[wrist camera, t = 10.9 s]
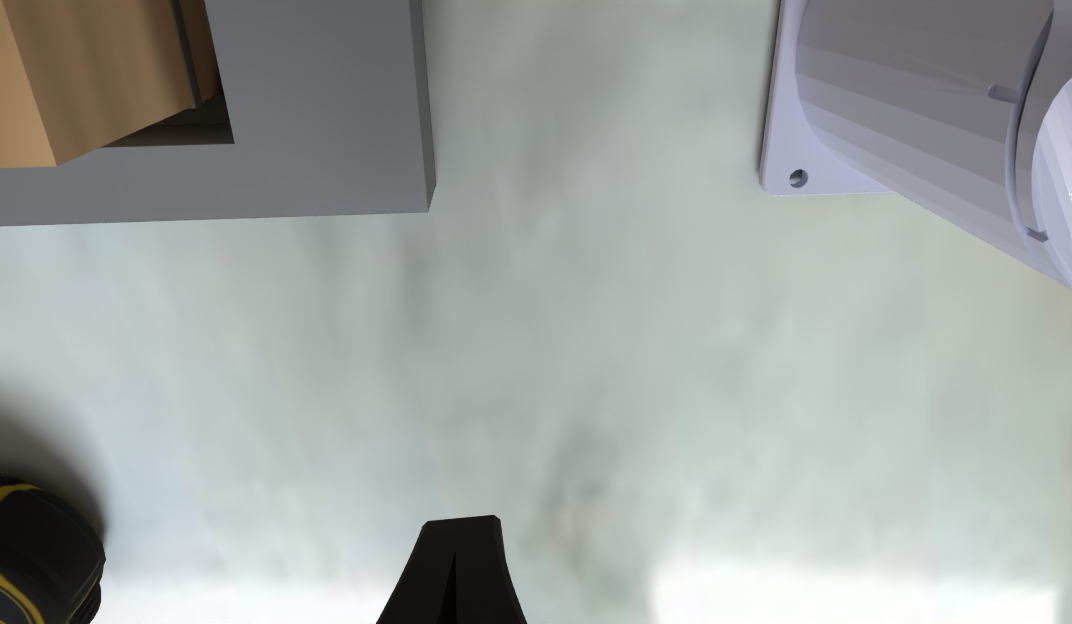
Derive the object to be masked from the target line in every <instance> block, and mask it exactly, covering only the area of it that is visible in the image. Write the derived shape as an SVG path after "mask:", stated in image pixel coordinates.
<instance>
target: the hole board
mask: <svg viewBox="0 0 1072 624" xmlns="http://www.w3.org/2000/svg"><path fill="white" fill-rule="evenodd" d="M204 1H205V6H206V10H207V15H208V20H209V24H210V29H211V34H212V39H213V43H214V48H215V53H216V57H217V62H218V67H219V72H220V76H221V81H222V86H223V90H224V95H225V100H226V105H227V109H228V114H229V119H230V124H197V125H162V126H147V127H145V128H143V129H140V130H138V131H136V132H134V133H131V134H129V135H127V136H125V137H122V138H120V139H118V140H116V141H113V142H111V143H109V144H106V145H104V146H102V147H100V148H97V149H95V150H93V151H91V152H88V153H86V154H84V155H82V156H79V157H77V158H75V159H73V160H70V161H68V162H66V163H64V164H61V165H59V166H54V167H21V168H0V226H25V225H56V224H86V223H117V222H148V221H178V220H209V219H239V218H270V217H301V216H331V215H362V214H392V213H423V212H428V211H429V207H430V204H431V200H432V197H433V193H434V190H435V187H436V176H435V164H434V152H433V140H432V128H431V117H430V105H429V93H428V81H427V69H426V57H425V46H424V34H423V22H422V10H421V0H204Z"/></svg>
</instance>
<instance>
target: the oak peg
mask: <svg viewBox="0 0 1072 624" xmlns="http://www.w3.org/2000/svg"><path fill="white" fill-rule="evenodd" d="M222 93H224V90H223V86H222V81H221V76H220V72H219V67H218V62H217V57H216V53H215V48H214V43H213V39H212V34H211V29H210V24H209V20H208V15H207V10H206V6H205V1H204V0H0V168H21V167H54V166H59V165H61V164H64V163H66V162H68V161H70V160H73V159H75V158H77V157H79V156H82V155H84V154H86V153H88V152H91V151H93V150H95V149H97V148H100V147H102V146H104V145H106V144H109V143H111V142H113V141H116V140H118V139H120V138H122V137H125V136H127V135H129V134H131V133H134V132H136V131H138V130H140V129H143V128H145V127H147V126H149V125H152V124H154V123H156V122H158V121H161V120H163V119H165V118H168V117H170V116H172V115H174V114H177V113H179V112H181V111H183V110H186V109H193V108H198V107H200V106H202V105H203V104H202V102H204V101H206V100H208V99H210V98H213V97H215V96H217V95H219V94H222Z"/></svg>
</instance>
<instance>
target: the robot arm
mask: <svg viewBox="0 0 1072 624" xmlns="http://www.w3.org/2000/svg"><path fill="white" fill-rule="evenodd" d="M799 169H802V173H803V175H802V177H801V180H799V181H798V182H797V183H795V184H790V182H789V178H790V176H791V174H792V173H793V172H794V171H795V170H799ZM759 184H760V186H761V187H762V189H763V190H764V191H766V192H767V193H769V194H770V195H772V196H805V195H836V194H867V193H898V194H900V195H902V196H904V197H905V198H907V199H909V200H911V201H913V202H914V203H916V204H918V205H920V206H922V207H923V208H925V209H927V210H929V211H931V212H932V213H934V214H936V215H938V216H940V217H941V218H943V219H945V220H947V221H949V222H950V223H952V224H954V225H956V226H957V227H959V228H961V229H963V230H965V231H966V232H968V233H970V234H972V235H974V236H975V237H977V238H979V239H981V240H983V241H984V242H986V243H988V244H990V245H992V246H993V247H995V248H997V249H999V250H1001V251H1002V252H1004V253H1006V254H1008V255H1010V256H1011V257H1013V258H1015V259H1017V260H1018V261H1020V262H1022V263H1024V264H1026V265H1027V266H1029V267H1031V268H1033V269H1035V270H1036V271H1038V272H1040V273H1042V274H1044V275H1045V276H1047V277H1049V278H1051V279H1053V280H1054V281H1056V282H1058V283H1060V284H1062V285H1063V286H1065V287H1067V288H1069V289H1071V290H1072V0H781V6H780V14H779V22H778V29H777V37H776V45H775V53H774V61H773V69H772V76H771V84H770V92H769V100H768V108H767V115H766V123H765V131H764V139H763V147H762V154H761V162H760V170H759ZM376 624H527V622H526V619H525V617H524V615H523V612H522V609H521V606H520V604H519V601H518V598H517V595H516V592H515V590H514V587H513V584H512V581H511V578H510V574H509V571H508V567H507V563H506V558H505V551H504V543H503V536H502V529H501V521H500V519H499V518H498V517H496V516H495V515H487V516H477V517H466V518H455V519H445V520H434V521H427V522H426V523H425V524H424V525H423V526H422V529H421V531H420V534H419V537H418V539H417V542H416V544H415V546H414V549H413V551H412V553H411V556H410V558H409V560H408V562H407V564H406V566H405V568H404V571H403V573H402V575H401V577H400V579H399V581H398V583H397V585H396V587H395V589H394V591H393V593H392V594H391V596H390V598H389V600H388V602H387V604H386V606H385V608H384V610H383V611H382V613H381V615H380V617H379V619H378V621H377V622H376Z"/></svg>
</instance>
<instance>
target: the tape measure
mask: <svg viewBox="0 0 1072 624" xmlns="http://www.w3.org/2000/svg"><path fill="white" fill-rule="evenodd" d="M105 561H106V557H105V552H104V549H103V545H102V543H101V541H100V539H99V538H98V536H97V534H96V533H95V531H94V529H93V528H92V527H91V525H90V524H89V523H88V522H87V521H86V520H85V519H84V517H83V516H82V515H80V514H79V513H78V512H77V511H76V510H75V509H73V508H72V507H71V506H69V505H68V504H66V503H65V502H64V501H62V500H61V499H60V498H58V497H56V496H55V495H53V494H51V493H49V492H47V491H45V490H43V489H40V488H38V487H36V486H33V485H31V484H29V483H27V482H25V481H23V480H20V479H17V478H14V477H11V476H0V624H90V622H91V621H92V620H93V619H94V617H95V615H96V613H97V612H98V610H99V607H100V603H101V587H100V580H101V578H102V573H103V568H104V563H105Z"/></svg>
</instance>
